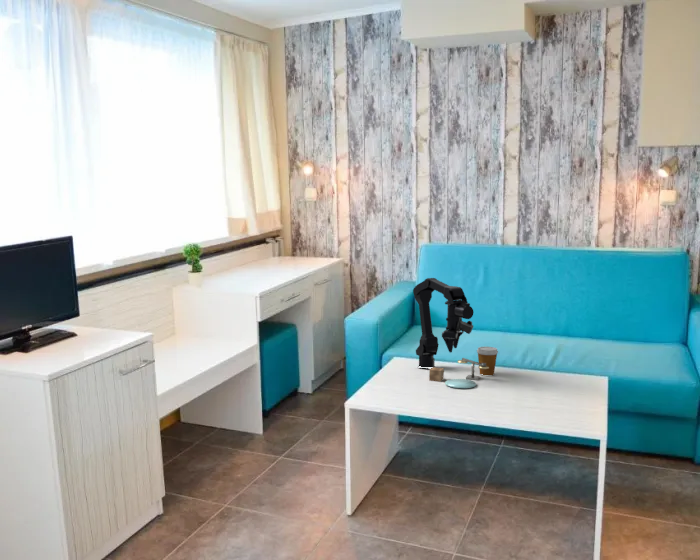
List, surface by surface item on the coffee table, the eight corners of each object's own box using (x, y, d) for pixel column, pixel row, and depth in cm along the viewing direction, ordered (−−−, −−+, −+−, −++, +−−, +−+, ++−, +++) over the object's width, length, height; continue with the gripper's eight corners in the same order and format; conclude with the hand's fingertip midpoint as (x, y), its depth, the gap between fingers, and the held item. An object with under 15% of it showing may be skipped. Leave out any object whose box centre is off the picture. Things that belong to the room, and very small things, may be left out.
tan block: (429, 380, 295) (429, 369, 294) (432, 378, 299) (432, 367, 299) (440, 382, 293) (440, 370, 292) (443, 379, 297) (443, 368, 297)
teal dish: (441, 387, 284) (441, 384, 284) (450, 379, 296) (450, 377, 296) (471, 390, 279) (471, 388, 279) (479, 383, 291) (479, 380, 291)
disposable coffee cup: (499, 377, 301) (500, 350, 300) (478, 376, 301) (478, 350, 300) (495, 371, 311) (495, 346, 309) (474, 371, 311) (475, 346, 309)
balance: (455, 378, 299) (456, 358, 298) (458, 375, 304) (459, 356, 303) (487, 381, 293) (487, 361, 292) (489, 378, 298) (490, 359, 297)
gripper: (467, 320, 284) (466, 356, 286) (476, 313, 302) (475, 347, 304) (441, 318, 289) (441, 354, 290) (451, 311, 306) (451, 345, 308)
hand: (453, 350), depth 298 cm, fingers open, 9 cm apart
